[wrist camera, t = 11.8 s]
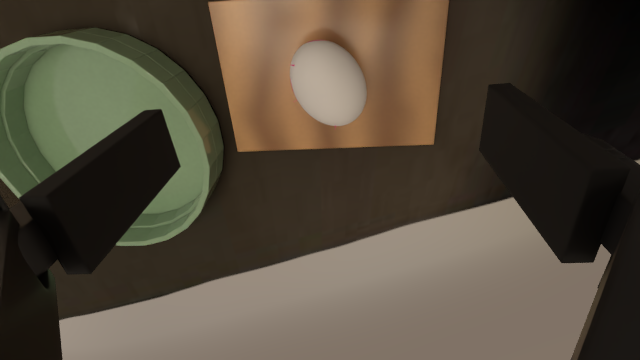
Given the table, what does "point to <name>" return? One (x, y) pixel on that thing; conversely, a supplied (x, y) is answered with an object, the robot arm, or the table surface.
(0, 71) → the bowl
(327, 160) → the table surface
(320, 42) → the stress ball
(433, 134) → the wooden board
